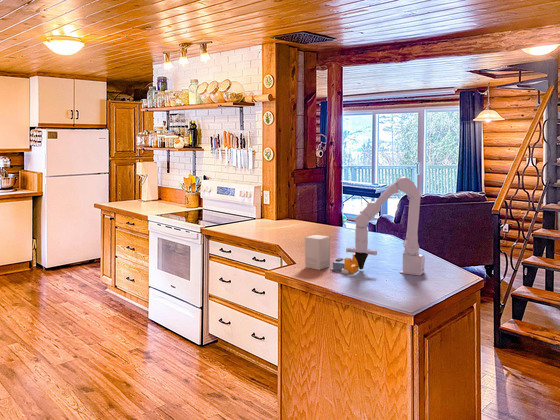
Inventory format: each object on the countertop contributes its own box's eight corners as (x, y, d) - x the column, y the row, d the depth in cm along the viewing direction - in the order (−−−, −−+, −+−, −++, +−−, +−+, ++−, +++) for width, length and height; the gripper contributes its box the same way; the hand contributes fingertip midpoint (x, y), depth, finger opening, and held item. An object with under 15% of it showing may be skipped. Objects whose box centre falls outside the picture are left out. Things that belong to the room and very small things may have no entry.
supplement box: (330, 266, 235) (330, 236, 233) (319, 270, 229) (319, 239, 227) (315, 263, 241) (315, 234, 240) (304, 267, 235) (304, 236, 233)
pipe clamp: (353, 273, 223) (353, 259, 222) (344, 272, 225) (344, 258, 225) (362, 267, 233) (362, 254, 233) (354, 266, 236) (354, 253, 235)
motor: (361, 266, 236) (361, 257, 235) (347, 274, 221) (347, 264, 221) (342, 263, 241) (342, 255, 240) (327, 271, 226) (327, 262, 226)
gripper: (379, 239, 225) (379, 268, 227) (350, 237, 232) (350, 265, 234) (374, 242, 219) (373, 272, 221) (344, 239, 226) (344, 268, 228)
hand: (361, 268), depth 227 cm, fingers closed
